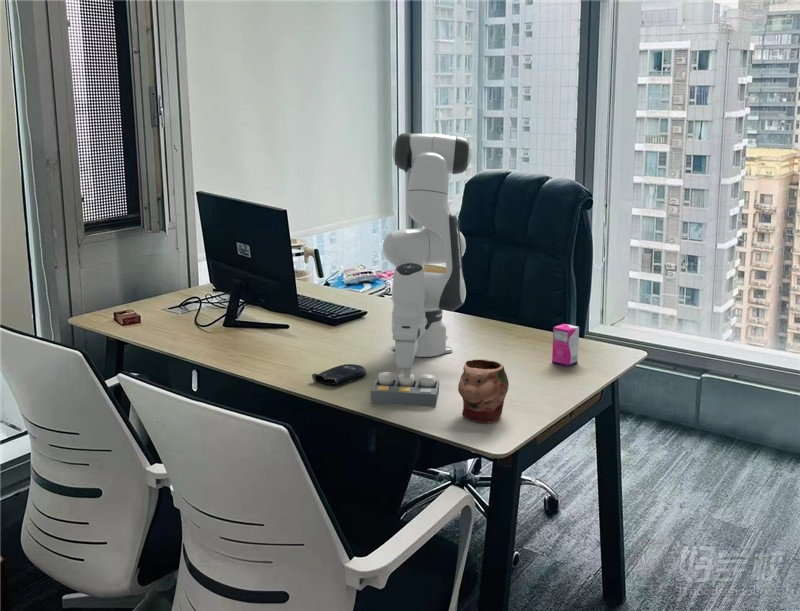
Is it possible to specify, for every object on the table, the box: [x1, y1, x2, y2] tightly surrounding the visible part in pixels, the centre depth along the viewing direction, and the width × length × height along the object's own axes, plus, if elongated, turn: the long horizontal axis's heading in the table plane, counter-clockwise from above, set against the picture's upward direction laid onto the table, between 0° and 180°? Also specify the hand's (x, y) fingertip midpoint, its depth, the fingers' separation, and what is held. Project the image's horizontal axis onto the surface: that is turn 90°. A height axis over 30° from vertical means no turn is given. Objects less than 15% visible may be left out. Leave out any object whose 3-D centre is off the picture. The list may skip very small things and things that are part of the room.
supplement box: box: [551, 323, 580, 367], centre depth 257 cm, size 6×6×12 cm
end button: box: [378, 371, 394, 386], centre depth 228 cm, size 4×4×2 cm
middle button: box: [398, 372, 415, 387], centre depth 228 cm, size 4×4×2 cm
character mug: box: [457, 358, 510, 424], centre depth 215 cm, size 20×12×14 cm, turn 159°
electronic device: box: [311, 363, 367, 388], centre depth 241 cm, size 10×6×15 cm
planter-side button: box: [419, 373, 436, 388], centre depth 227 cm, size 4×4×2 cm
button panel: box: [370, 376, 440, 408], centre depth 227 cm, size 11×17×4 cm, turn 83°
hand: (407, 375), depth 227 cm, fingers closed
